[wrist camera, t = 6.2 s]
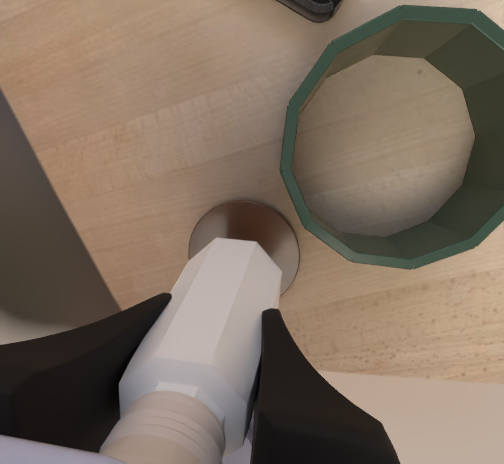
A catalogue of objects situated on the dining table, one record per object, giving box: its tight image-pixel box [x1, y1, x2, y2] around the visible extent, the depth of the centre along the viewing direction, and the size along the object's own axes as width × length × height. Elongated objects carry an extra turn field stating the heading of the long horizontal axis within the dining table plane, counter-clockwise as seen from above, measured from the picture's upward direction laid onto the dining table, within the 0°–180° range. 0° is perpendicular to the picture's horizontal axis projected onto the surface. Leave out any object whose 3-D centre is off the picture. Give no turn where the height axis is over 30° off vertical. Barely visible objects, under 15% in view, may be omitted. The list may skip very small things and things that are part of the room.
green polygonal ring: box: [280, 5, 504, 270], centre depth 16 cm, size 12×12×4 cm
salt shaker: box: [99, 238, 282, 464], centre depth 10 cm, size 5×5×11 cm
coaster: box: [189, 200, 300, 297], centre depth 21 cm, size 8×8×1 cm
